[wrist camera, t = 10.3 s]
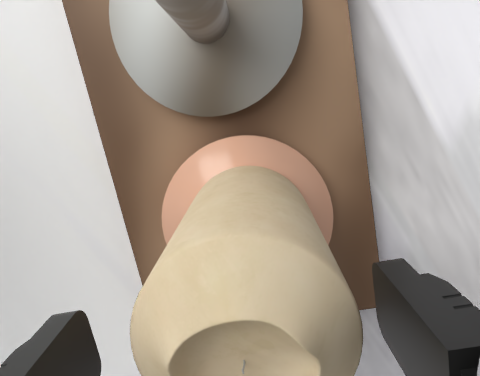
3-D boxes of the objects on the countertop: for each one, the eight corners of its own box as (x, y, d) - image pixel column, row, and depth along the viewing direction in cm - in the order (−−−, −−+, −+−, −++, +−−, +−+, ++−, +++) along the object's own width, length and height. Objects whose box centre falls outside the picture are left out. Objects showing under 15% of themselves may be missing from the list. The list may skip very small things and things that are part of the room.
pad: (186, 302, 19) (183, 311, 18) (147, 152, 17) (142, 154, 16) (340, 277, 18) (344, 285, 17) (316, 119, 16) (319, 119, 16)
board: (163, 328, 21) (110, 465, 13) (56, -61, 16) (-126, -214, 8) (376, 294, 20) (458, 419, 12) (323, -128, 15) (398, -367, 8)
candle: (274, 294, 18) (300, 533, 8) (171, 246, 17) (66, 436, 8) (331, 196, 16) (443, 340, 7) (221, 142, 16) (171, 212, 6)
